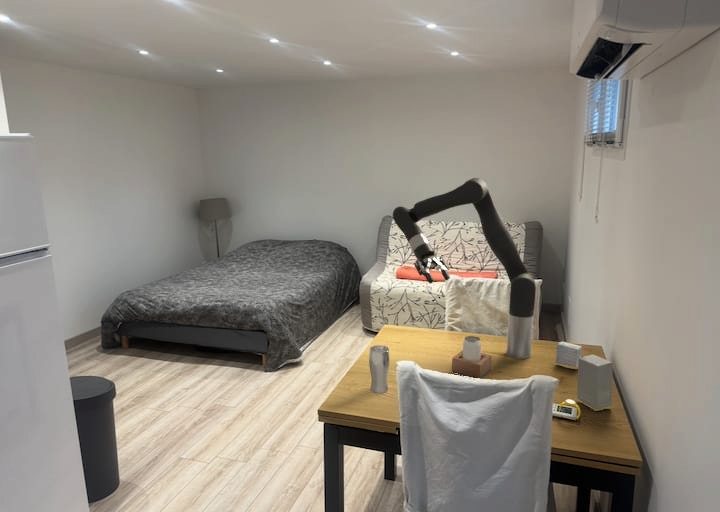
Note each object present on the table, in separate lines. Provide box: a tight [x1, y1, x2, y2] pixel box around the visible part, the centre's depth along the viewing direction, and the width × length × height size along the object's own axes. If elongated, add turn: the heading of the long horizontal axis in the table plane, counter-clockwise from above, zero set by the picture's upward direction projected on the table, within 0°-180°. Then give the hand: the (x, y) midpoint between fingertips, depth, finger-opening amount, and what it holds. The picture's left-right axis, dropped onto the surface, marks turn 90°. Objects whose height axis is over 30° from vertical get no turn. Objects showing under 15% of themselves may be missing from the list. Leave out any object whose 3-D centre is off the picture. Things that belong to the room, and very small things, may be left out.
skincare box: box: [577, 354, 614, 409], centre depth 160 cm, size 8×7×16 cm
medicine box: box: [555, 341, 583, 367], centre depth 190 cm, size 8×4×9 cm, turn 47°
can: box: [462, 335, 482, 362], centre depth 185 cm, size 6×6×12 cm
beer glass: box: [368, 344, 391, 395], centre depth 171 cm, size 7×7×15 cm
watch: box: [558, 398, 581, 420], centre depth 153 cm, size 6×3×6 cm, turn 62°
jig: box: [451, 349, 493, 379], centre depth 186 cm, size 11×11×6 cm
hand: (440, 280), depth 196 cm, fingers open, 8 cm apart
